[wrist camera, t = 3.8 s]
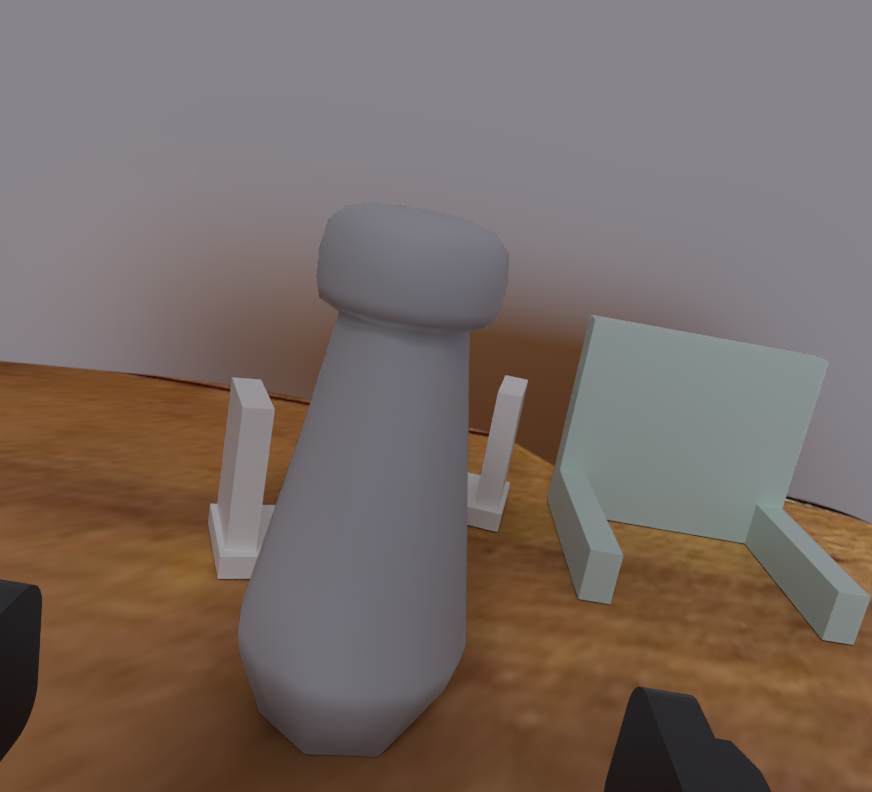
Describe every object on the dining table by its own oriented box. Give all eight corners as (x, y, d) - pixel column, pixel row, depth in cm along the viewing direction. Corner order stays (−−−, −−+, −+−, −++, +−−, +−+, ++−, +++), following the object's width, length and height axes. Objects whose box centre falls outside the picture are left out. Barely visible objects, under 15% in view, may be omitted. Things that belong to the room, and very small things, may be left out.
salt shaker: (405, 635, 25) (486, 215, 22) (482, 767, 20) (603, 248, 17) (212, 649, 23) (269, 178, 19) (245, 802, 18) (330, 205, 14)
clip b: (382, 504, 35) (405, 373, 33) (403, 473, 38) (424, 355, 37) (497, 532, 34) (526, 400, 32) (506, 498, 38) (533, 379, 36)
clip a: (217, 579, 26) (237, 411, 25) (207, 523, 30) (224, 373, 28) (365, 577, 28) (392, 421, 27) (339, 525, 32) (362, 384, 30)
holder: (577, 598, 30) (638, 361, 27) (547, 499, 38) (590, 314, 36) (853, 645, 30) (936, 415, 28) (759, 536, 39) (816, 355, 36)
